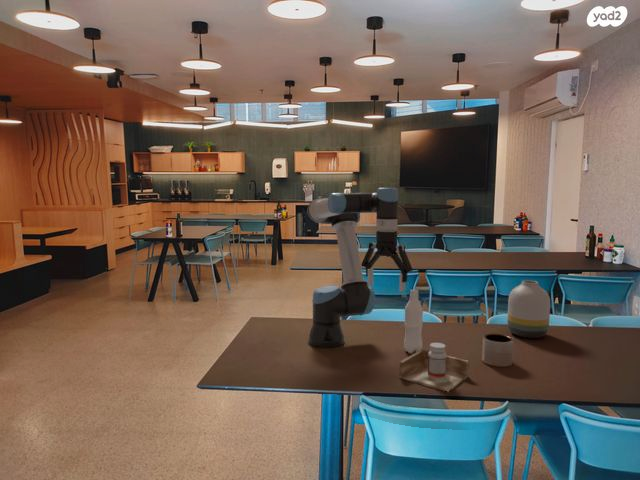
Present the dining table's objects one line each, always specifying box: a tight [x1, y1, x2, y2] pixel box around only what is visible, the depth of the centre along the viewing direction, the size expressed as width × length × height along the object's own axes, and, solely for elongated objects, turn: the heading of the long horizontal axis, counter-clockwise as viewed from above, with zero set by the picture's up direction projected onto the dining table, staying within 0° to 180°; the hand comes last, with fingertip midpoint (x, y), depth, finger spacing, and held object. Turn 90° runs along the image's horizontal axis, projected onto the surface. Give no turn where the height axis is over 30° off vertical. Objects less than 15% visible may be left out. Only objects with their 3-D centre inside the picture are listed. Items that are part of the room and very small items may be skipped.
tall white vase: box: [403, 289, 424, 354], centre depth 188 cm, size 7×7×25 cm
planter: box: [481, 332, 515, 368], centre depth 177 cm, size 11×11×10 cm
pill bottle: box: [428, 342, 448, 380], centre depth 162 cm, size 6×6×11 cm
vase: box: [507, 279, 551, 339], centre depth 209 cm, size 17×17×24 cm
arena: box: [399, 348, 470, 393], centre depth 164 cm, size 18×16×6 cm
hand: (385, 288), depth 173 cm, fingers open, 13 cm apart
